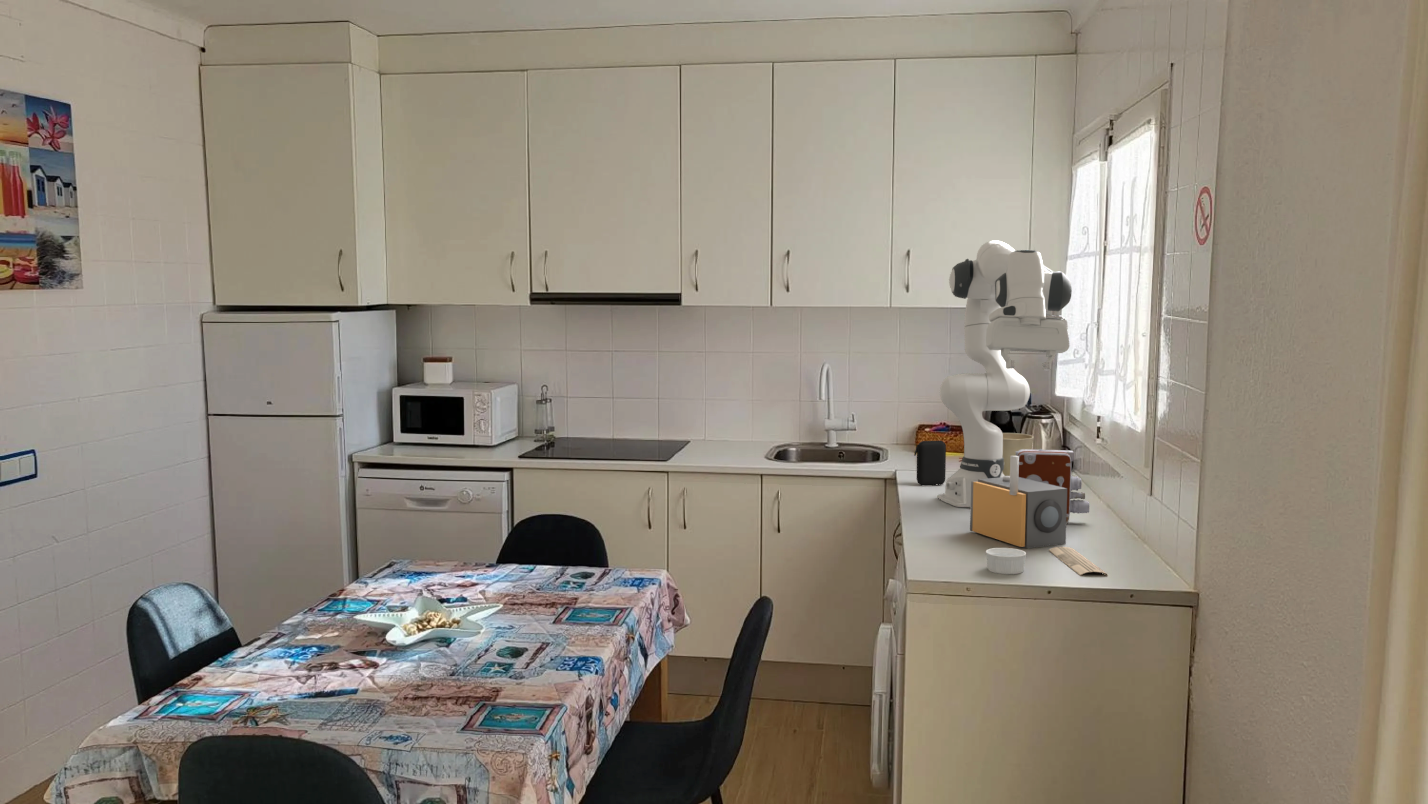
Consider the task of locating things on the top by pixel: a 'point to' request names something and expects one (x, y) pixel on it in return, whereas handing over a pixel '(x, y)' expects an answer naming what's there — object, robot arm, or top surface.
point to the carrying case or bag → (931, 462)
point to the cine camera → (1053, 474)
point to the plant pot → (1014, 447)
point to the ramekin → (1005, 560)
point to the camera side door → (999, 509)
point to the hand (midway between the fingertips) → (1028, 369)
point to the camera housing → (1040, 510)
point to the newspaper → (1075, 560)
